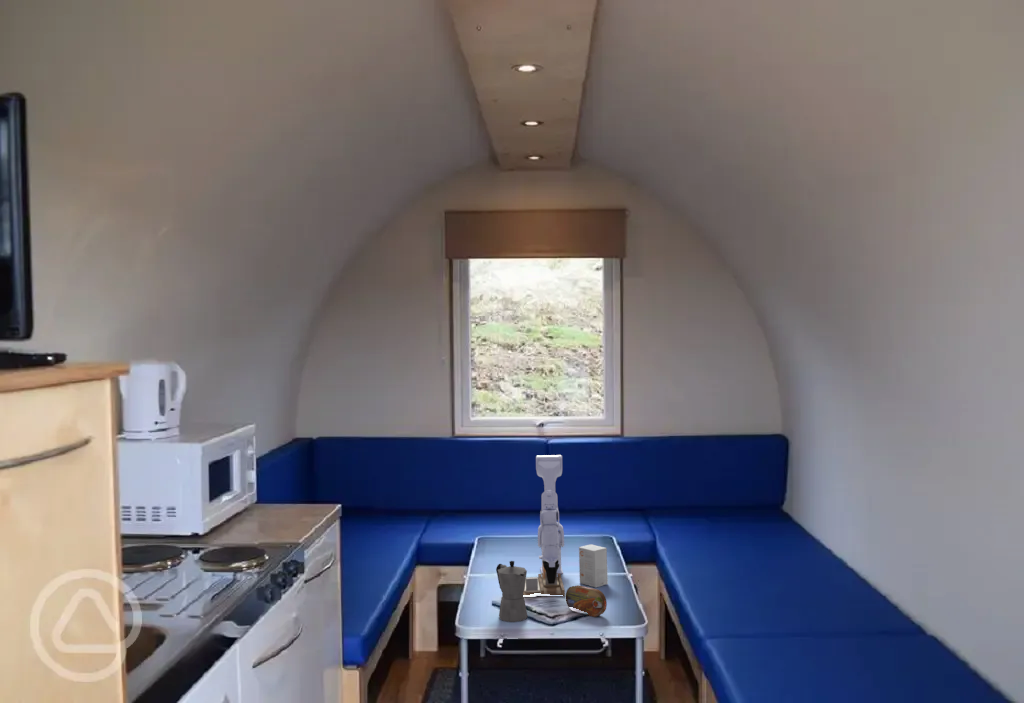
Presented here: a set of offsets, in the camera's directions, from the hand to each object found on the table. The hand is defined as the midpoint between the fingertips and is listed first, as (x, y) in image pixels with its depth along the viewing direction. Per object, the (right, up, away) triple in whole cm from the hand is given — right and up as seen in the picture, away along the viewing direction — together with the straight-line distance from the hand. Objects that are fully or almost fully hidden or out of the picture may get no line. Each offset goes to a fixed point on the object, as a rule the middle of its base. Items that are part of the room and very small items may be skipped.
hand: (551, 582), depth 307 cm
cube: (0, 0, +9) cm, 9 cm away
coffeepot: (-14, -4, -28) cm, 32 cm away
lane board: (-3, -2, +1) cm, 4 cm away
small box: (+15, -2, +5) cm, 16 cm away
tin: (+10, -3, -27) cm, 29 cm away
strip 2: (0, -1, +7) cm, 7 cm away
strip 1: (-7, -1, 0) cm, 7 cm away
